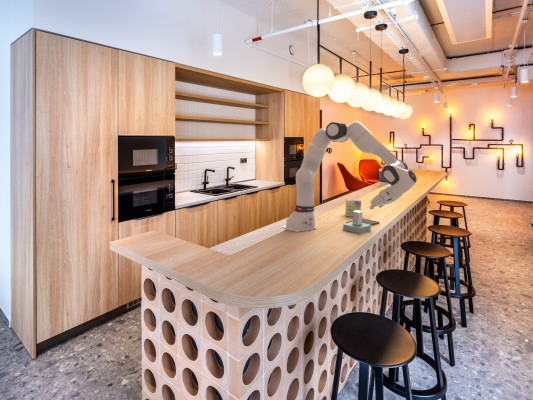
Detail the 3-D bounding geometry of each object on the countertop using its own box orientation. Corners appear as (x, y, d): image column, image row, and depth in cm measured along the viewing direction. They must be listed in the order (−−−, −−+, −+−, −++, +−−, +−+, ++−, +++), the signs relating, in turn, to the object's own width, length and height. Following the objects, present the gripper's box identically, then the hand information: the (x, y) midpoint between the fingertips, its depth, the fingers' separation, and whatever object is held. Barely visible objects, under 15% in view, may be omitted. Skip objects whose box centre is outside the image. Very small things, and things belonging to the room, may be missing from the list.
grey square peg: (357, 231, 204) (358, 212, 202) (352, 229, 207) (353, 211, 205) (361, 230, 207) (362, 211, 204) (356, 228, 210) (357, 210, 207)
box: (359, 215, 248) (359, 199, 245) (360, 216, 242) (361, 200, 240) (345, 214, 249) (345, 199, 246) (346, 216, 243) (346, 200, 241)
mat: (364, 227, 212) (364, 226, 212) (346, 223, 222) (346, 222, 222) (379, 223, 223) (379, 221, 223) (361, 219, 234) (361, 218, 234)
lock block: (359, 233, 198) (359, 228, 198) (343, 229, 207) (343, 224, 207) (370, 230, 206) (371, 224, 206) (354, 226, 215) (354, 221, 214)
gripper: (397, 187, 194) (381, 201, 203) (378, 190, 181) (362, 205, 190) (404, 195, 191) (387, 209, 200) (385, 199, 178) (368, 214, 187)
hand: (375, 207), depth 195 cm, fingers open, 8 cm apart
